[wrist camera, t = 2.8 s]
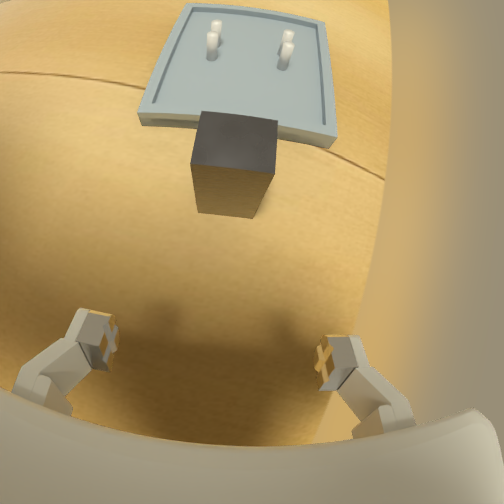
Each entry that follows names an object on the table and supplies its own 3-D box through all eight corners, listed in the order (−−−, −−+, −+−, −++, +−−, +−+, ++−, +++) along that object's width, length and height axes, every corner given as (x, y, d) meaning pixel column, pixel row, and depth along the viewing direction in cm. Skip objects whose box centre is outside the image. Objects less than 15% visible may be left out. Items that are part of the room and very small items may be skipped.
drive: (198, 212, 26) (190, 163, 16) (204, 171, 26) (201, 108, 17) (252, 218, 26) (274, 173, 17) (256, 177, 27) (278, 118, 17)
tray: (141, 125, 26) (130, 94, 21) (186, 15, 30) (186, -13, 25) (328, 148, 29) (349, 121, 23) (319, 33, 32) (330, 8, 27)
